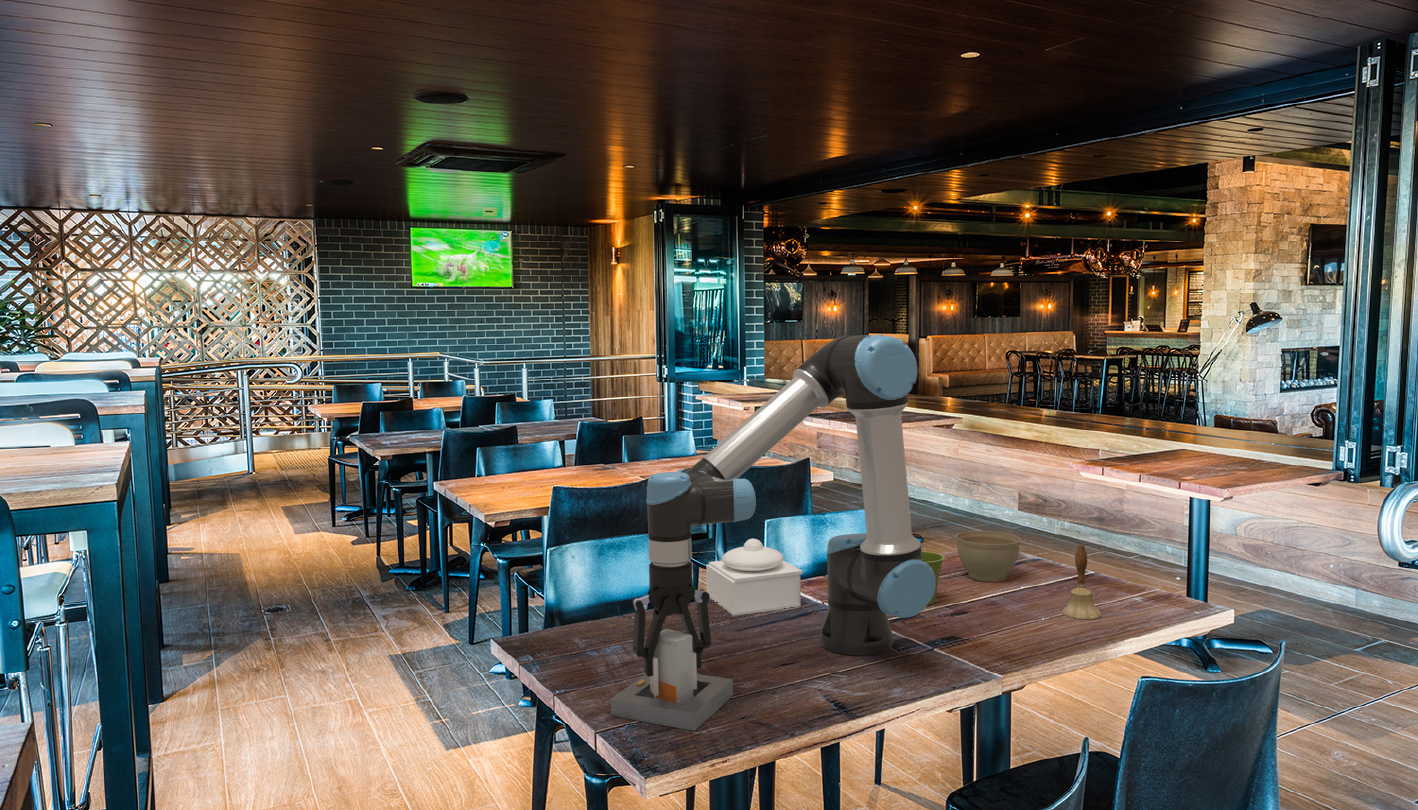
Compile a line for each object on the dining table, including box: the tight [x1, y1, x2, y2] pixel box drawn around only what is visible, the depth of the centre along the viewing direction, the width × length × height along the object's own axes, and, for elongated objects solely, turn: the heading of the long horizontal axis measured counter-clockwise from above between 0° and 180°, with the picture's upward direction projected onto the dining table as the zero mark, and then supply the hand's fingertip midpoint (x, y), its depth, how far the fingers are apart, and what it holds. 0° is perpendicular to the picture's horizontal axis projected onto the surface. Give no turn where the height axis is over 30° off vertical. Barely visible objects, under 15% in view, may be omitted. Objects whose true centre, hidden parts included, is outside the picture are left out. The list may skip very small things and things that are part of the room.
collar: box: [610, 673, 734, 732], centre depth 161 cm, size 16×16×3 cm
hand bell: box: [1061, 544, 1102, 620], centre depth 207 cm, size 8×8×16 cm
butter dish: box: [705, 538, 804, 617], centre depth 223 cm, size 18×18×16 cm
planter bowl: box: [955, 530, 1021, 583], centre depth 239 cm, size 16×16×11 cm
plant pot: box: [921, 550, 946, 607], centre depth 219 cm, size 12×12×11 cm
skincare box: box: [653, 628, 694, 704], centre depth 161 cm, size 6×4×12 cm
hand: (673, 689), depth 161 cm, fingers closed on skincare box, 6 cm apart
